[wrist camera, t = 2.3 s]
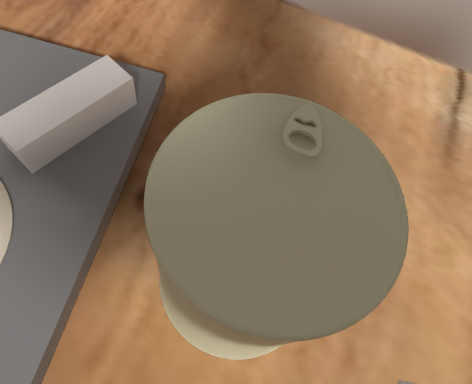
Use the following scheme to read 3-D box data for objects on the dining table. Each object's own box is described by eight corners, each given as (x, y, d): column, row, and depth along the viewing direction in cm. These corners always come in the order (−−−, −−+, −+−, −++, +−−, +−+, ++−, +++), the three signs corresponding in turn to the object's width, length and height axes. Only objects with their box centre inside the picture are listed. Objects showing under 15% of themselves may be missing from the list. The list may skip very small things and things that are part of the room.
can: (323, 235, 25) (429, 129, 14) (290, 383, 21) (404, 389, 10) (192, 188, 25) (200, 51, 15) (133, 327, 21) (85, 275, 10)
